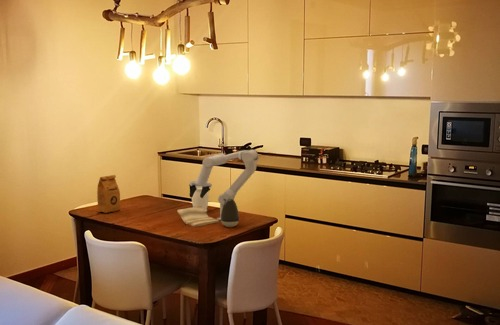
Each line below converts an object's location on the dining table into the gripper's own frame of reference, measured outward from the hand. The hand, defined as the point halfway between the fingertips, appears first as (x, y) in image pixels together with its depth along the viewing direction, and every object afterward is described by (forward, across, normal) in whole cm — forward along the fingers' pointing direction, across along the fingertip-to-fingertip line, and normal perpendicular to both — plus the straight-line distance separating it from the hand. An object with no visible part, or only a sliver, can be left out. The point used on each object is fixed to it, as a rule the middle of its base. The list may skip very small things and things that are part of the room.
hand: (195, 197), depth 303 cm
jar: (+12, -12, -5) cm, 18 cm away
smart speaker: (+1, -4, +31) cm, 31 cm away
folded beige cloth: (+7, +4, +18) cm, 19 cm away
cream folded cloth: (+8, +4, +8) cm, 11 cm away
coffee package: (+31, +30, -36) cm, 56 cm away
